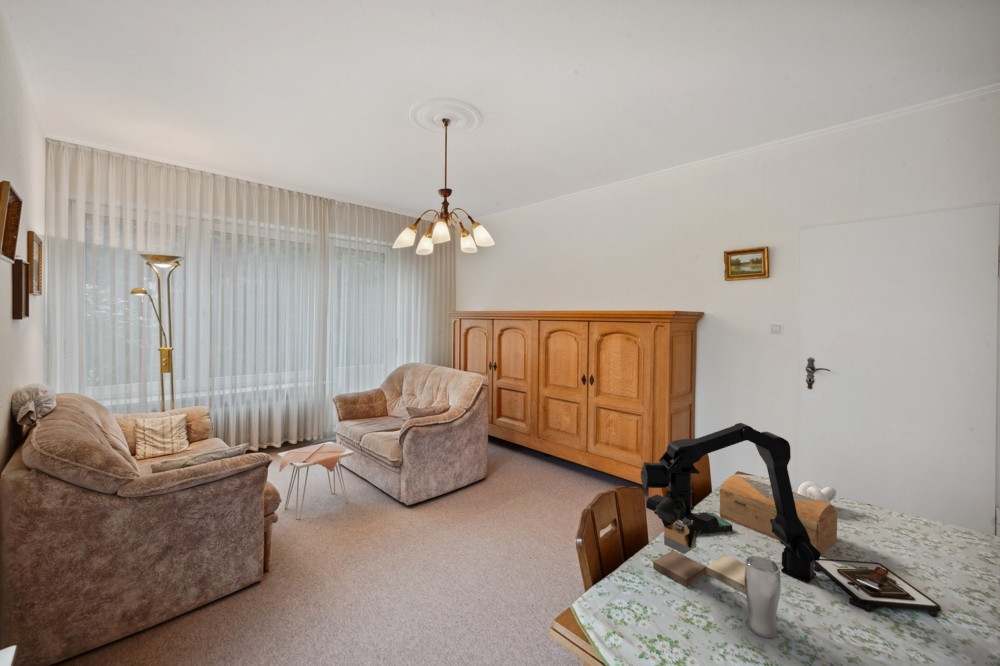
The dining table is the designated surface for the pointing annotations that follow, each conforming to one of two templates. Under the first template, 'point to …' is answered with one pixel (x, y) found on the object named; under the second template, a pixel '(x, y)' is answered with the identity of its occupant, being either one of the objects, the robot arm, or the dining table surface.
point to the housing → (677, 537)
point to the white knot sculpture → (817, 492)
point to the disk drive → (722, 527)
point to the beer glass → (762, 595)
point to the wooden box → (757, 507)
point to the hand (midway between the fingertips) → (680, 542)
